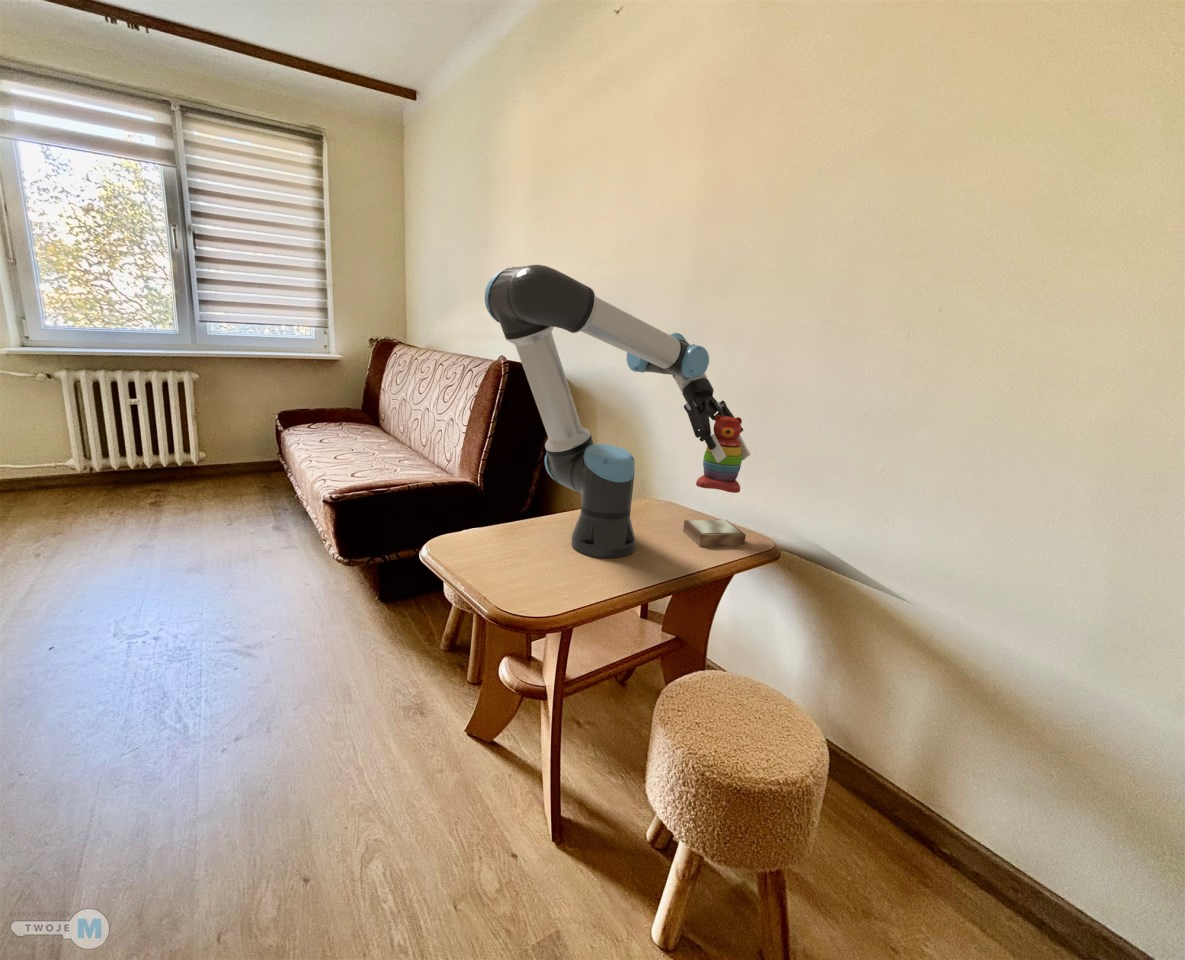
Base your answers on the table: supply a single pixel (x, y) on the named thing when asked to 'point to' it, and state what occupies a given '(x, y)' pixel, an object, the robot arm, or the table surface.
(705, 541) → the grey flat block
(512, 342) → the robot arm
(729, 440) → the stacking bear
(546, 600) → the table surface
